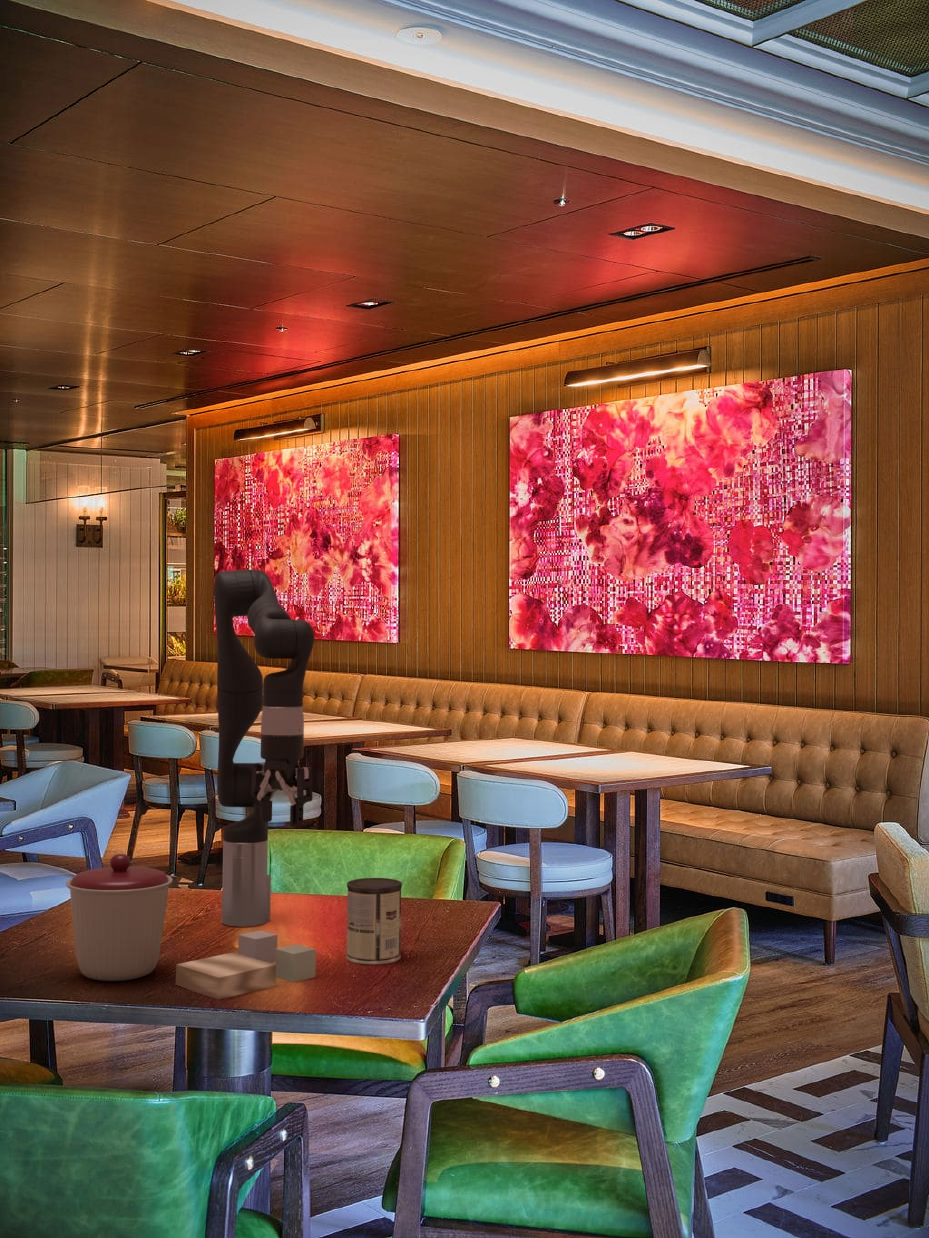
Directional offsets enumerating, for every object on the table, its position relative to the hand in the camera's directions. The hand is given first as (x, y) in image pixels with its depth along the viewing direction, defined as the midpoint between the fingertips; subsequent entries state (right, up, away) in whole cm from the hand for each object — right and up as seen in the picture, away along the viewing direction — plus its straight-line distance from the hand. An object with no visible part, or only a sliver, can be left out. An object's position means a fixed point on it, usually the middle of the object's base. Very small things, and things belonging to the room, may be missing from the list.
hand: (280, 824), depth 222 cm
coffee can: (+15, -28, +14) cm, 34 cm away
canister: (-29, -27, -1) cm, 39 cm away
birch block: (-8, -27, -7) cm, 29 cm away
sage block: (+3, -27, -1) cm, 27 cm away
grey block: (-6, -27, +10) cm, 29 cm away
